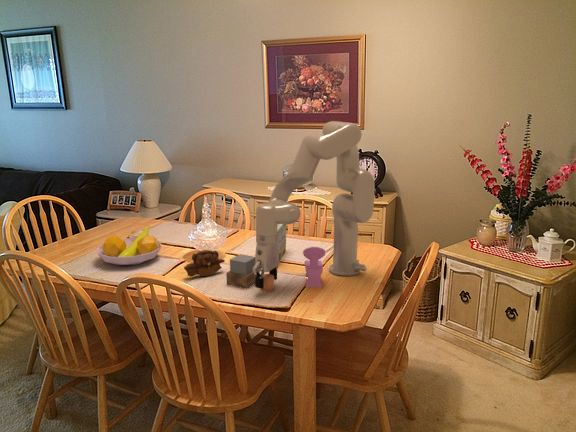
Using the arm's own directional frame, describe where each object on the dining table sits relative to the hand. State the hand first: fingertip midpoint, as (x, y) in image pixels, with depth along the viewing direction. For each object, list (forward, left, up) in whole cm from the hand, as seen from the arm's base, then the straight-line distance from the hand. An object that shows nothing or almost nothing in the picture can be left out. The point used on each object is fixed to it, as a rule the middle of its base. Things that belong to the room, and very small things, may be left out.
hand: (266, 283), depth 174 cm
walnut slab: (+11, -1, -3) cm, 11 cm away
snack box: (+14, -31, -3) cm, 34 cm away
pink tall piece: (-12, -14, -3) cm, 19 cm away
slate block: (+11, -1, +2) cm, 11 cm away
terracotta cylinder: (0, 0, -2) cm, 2 cm away
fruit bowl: (+67, 0, -3) cm, 67 cm away
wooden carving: (+28, 0, -3) cm, 28 cm away
